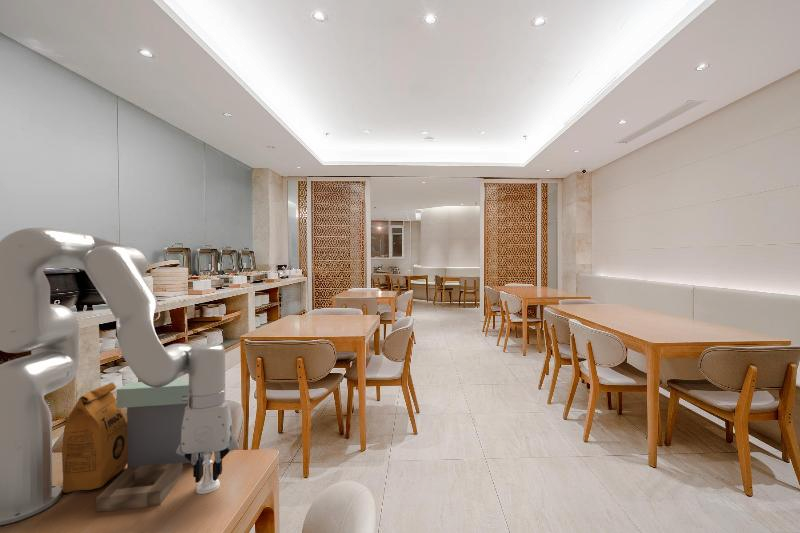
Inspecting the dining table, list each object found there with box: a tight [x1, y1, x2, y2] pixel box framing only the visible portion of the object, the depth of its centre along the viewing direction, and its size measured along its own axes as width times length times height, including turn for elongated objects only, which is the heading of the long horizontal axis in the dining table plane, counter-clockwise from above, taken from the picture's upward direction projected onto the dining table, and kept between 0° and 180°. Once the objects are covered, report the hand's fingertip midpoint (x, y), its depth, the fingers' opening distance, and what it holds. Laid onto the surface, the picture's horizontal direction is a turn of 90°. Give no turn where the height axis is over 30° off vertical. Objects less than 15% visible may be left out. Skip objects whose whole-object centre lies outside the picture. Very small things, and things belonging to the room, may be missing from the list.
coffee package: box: [61, 381, 127, 494], centre depth 88 cm, size 10×12×22 cm
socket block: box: [95, 462, 184, 513], centre depth 83 cm, size 12×12×3 cm
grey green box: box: [116, 378, 205, 469], centre depth 93 cm, size 18×6×22 cm, turn 100°
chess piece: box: [195, 452, 221, 495], centre depth 85 cm, size 5×5×10 cm
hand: (208, 477), depth 85 cm, fingers open, 3 cm apart
